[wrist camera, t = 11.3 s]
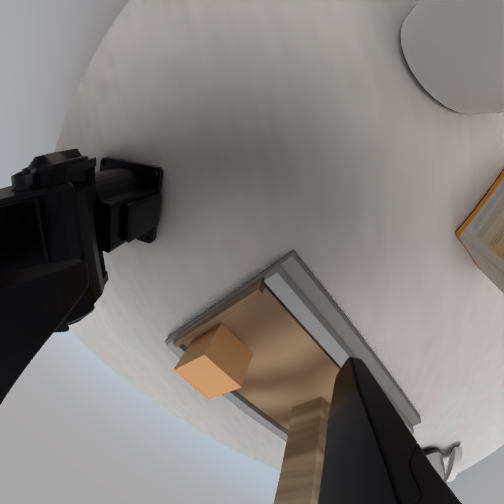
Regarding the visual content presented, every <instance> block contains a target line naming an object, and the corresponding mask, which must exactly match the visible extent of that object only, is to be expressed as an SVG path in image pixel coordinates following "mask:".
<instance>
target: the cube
mask: <svg viewBox="0 0 504 504" xmlns="http://www.w3.org/2000/svg"><path fill="white" fill-rule="evenodd" d="M252 355H253V353H252V352H251V351H250V350H249V349H248V348H247V347H246V346H245V345H244V344H243V343H242V342H241V341H239V340H238V339H237V338H236V337H235V336H234V335H233V334H232V333H231V332H230V331H229V330H228V329H227V328H226V327H225V326H224V325H223V324H222V323H220V324H218V325H216V326H215V327H213V328H211V329H210V330H208V331H206V332H205V333H203V334H201V335H200V336H198V337H196V338H195V339H193V340H192V341H191V343H190V344H189V346H188V347H187V349H186V351H185V352H184V354H183V356H182V357H181V359H180V361H179V362H178V364H177V365H176V367H175V369H174V370H175V371H176V372H177V373H178V374H179V375H180V376H181V377H182V378H184V379H185V380H186V381H187V382H188V383H189V384H191V385H192V386H193V387H194V388H195V389H197V390H198V391H199V392H200V393H201V394H203V395H204V396H205V397H206V398H208V399H210V398H213V397H216V396H219V395H222V394H225V393H228V392H230V391H233V390H236V389H239V388H241V387H242V385H243V382H244V379H245V376H246V373H247V370H248V367H249V364H250V361H251V358H252Z"/></svg>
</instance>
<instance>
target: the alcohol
mask: <svg viewBox="0 0 504 504" xmlns="http://www.w3.org/2000/svg"><path fill="white" fill-rule="evenodd" d="M400 37H401V46H402V50H403V53H404V56H405V59H406V61H407V63H408V65H409V67H410V69H411V71H412V72H413V74H414V76H415V77H416V79H417V80H418V81H419V83H420V84H421V85H422V86H423V87H424V89H425V90H426V91H427V92H428V93H429V94H430V95H431V96H432V97H433V98H434V99H436V100H437V101H439V102H440V103H441V104H443V105H444V106H446V107H448V108H450V109H451V110H453V111H456V112H459V113H462V114H471V115H474V114H486V113H501V112H504V0H419V1H418V3H417V4H416V5H415V7H414V8H413V9H412V11H411V12H410V13H409V15H408V16H407V17H406V19H405V20H404V22H403V25H402V27H401V36H400Z"/></svg>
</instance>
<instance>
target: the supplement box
mask: <svg viewBox="0 0 504 504" xmlns="http://www.w3.org/2000/svg"><path fill="white" fill-rule="evenodd" d="M456 235H457V237H458V238H459V240H460V241H461V242H462V244H463V245H464V247H465V248H466V249H467V251H468V252H469V254H470V255H471V257H472V258H473V260H474V261H475V263H476V265H477V266H478V268H479V269H480V270H481V271H482V272H483V273H484V274H485V275H486V276H487V277H488V278H489V279H490V280H491V281H492V282H493V283H494V284H495V285H496V286H497V287H498V288H499V289H500V290H501V291H502V292H503V293H504V170H503V171H502V173H501V175H500V176H499V178H498V179H497V180H496V182H495V183H494V185H493V186H492V187H491V189H490V190H489V192H488V193H487V194H486V196H485V197H484V198H483V200H482V201H481V202H480V204H479V205H478V206H477V208H476V209H475V210H474V211H473V213H472V214H471V215H470V216H469V218H468V219H467V220H466V221H465V222H464V224H463V225H462V226H461V227H460V228H459V230H458V231H457V232H456Z"/></svg>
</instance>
